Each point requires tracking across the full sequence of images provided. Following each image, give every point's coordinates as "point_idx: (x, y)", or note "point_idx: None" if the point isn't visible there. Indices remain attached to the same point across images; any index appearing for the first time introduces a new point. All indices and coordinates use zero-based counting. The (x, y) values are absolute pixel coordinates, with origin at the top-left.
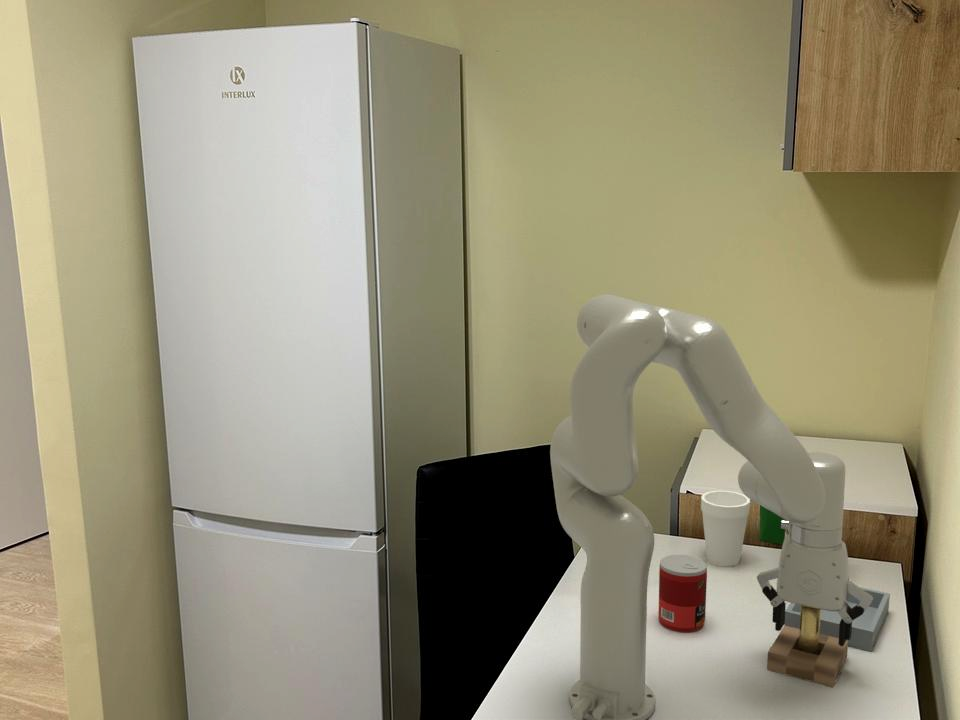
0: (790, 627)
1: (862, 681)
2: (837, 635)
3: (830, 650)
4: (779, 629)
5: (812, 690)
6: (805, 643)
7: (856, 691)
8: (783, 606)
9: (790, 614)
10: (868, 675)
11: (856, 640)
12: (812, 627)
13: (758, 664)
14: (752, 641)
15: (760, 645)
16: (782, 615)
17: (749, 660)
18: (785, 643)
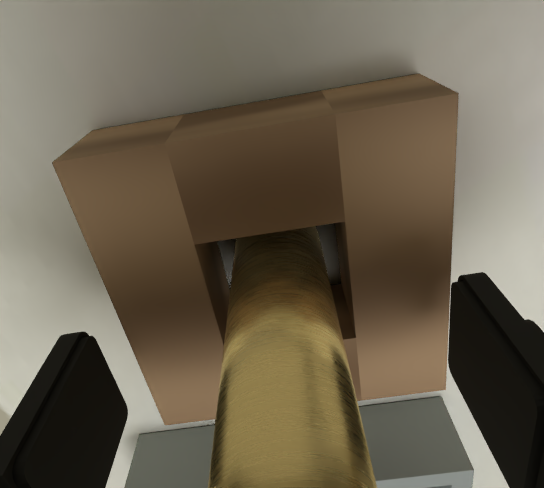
0: (416, 388)
1: (41, 255)
2: None
3: (177, 319)
4: (459, 284)
5: (147, 28)
6: (279, 272)
7: (4, 165)
8: (522, 456)
9: (446, 464)
10: (54, 306)
11: (185, 454)
12: (242, 363)
13: (471, 94)
14: (540, 266)
15: (500, 257)
16: (489, 384)
17: (522, 101)
18: (392, 250)
